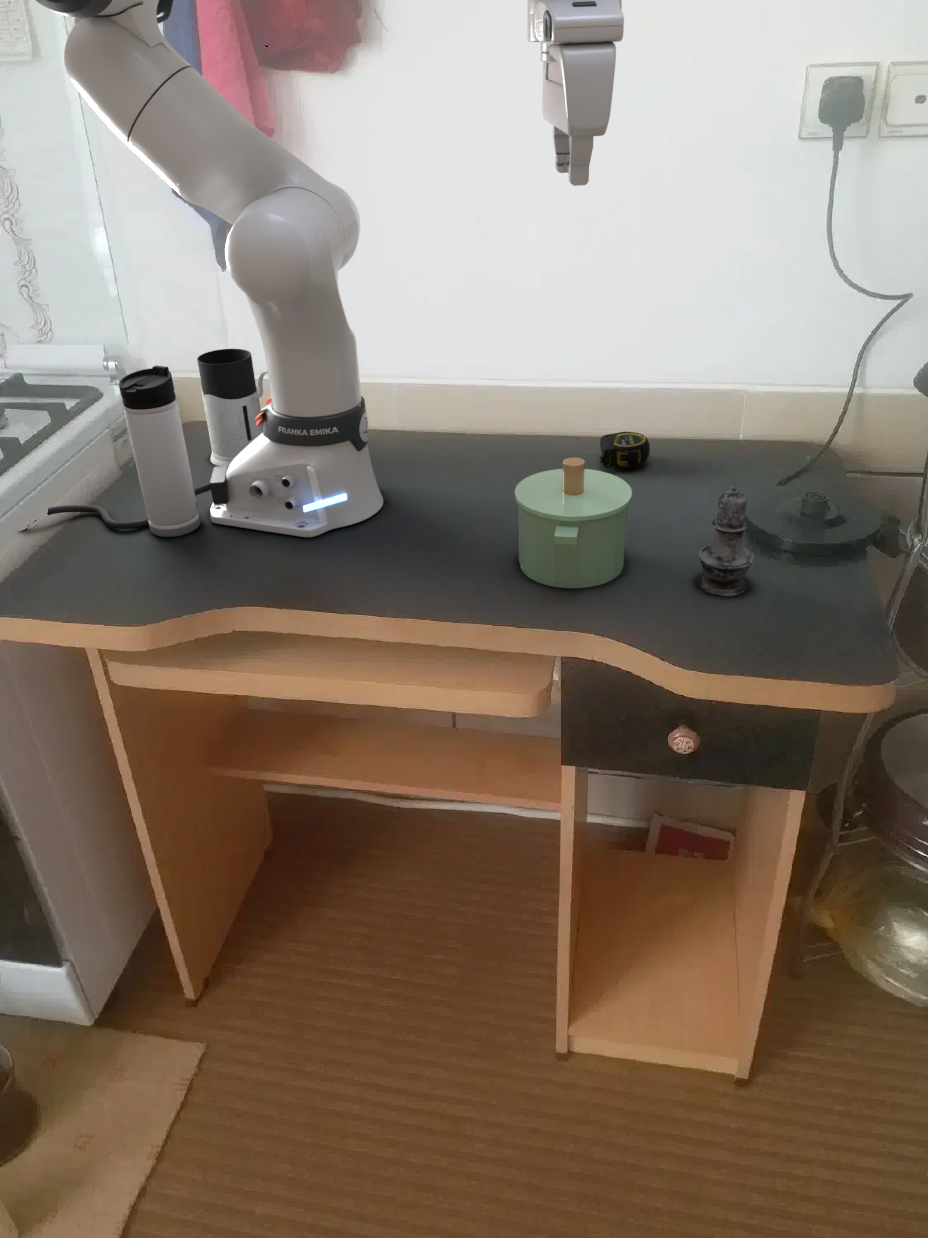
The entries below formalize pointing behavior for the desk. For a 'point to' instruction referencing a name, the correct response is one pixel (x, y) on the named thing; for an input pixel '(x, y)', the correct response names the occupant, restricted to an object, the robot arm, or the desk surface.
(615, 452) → the tape measure
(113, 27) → the robot arm
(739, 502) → the salt shaker
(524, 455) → the desk surface
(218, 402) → the tall handled mug
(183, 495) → the travel mug
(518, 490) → the pot lid
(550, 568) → the pot
